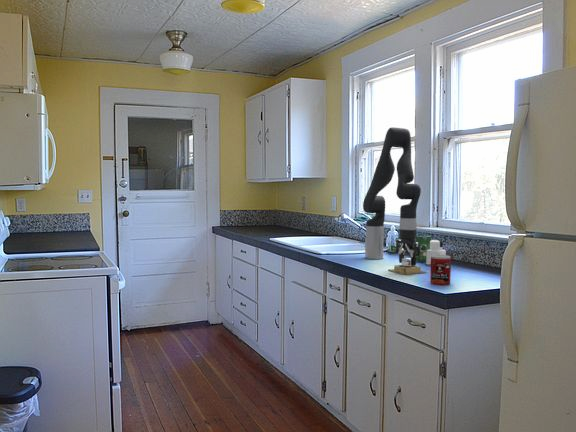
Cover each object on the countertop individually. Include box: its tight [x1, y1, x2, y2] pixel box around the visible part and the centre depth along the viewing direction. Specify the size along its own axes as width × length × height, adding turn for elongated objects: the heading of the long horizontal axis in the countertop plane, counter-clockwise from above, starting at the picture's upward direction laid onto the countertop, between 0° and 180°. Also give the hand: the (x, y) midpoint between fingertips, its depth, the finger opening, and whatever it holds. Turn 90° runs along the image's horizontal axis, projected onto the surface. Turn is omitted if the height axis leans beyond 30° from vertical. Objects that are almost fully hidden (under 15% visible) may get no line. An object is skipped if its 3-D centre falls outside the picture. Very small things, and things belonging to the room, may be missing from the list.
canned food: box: [429, 255, 452, 286], centre depth 210 cm, size 8×8×11 cm
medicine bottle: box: [425, 239, 447, 266], centre depth 260 cm, size 7×7×12 cm
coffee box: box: [415, 235, 432, 263], centre depth 269 cm, size 8×3×13 cm, turn 117°
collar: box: [388, 264, 428, 276], centre depth 237 cm, size 12×12×3 cm
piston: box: [401, 257, 413, 268], centre depth 237 cm, size 5×5×5 cm
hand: (407, 264), depth 237 cm, fingers open, 8 cm apart
